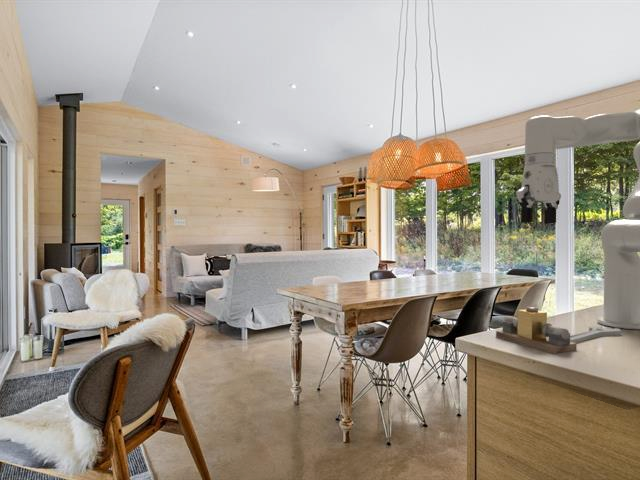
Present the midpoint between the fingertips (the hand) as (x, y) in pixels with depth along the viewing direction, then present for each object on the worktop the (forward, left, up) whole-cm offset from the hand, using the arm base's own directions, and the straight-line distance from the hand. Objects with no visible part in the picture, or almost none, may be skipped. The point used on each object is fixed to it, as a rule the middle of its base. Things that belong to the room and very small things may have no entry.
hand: (538, 222), depth 113 cm
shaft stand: (+13, +9, -30) cm, 34 cm away
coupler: (+14, +9, -29) cm, 33 cm away
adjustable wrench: (-6, +10, -31) cm, 33 cm away
